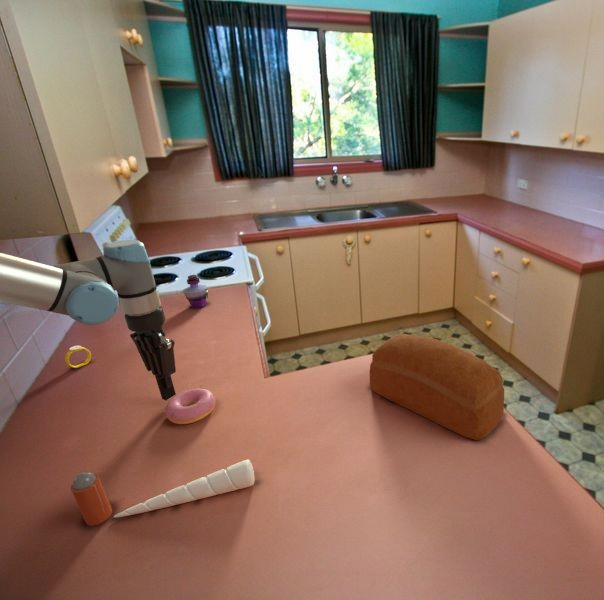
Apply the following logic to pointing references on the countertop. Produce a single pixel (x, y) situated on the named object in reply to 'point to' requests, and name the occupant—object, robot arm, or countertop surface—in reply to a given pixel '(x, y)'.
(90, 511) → the salt shaker
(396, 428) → the countertop surface
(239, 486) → the unicorn horn
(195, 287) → the potion bottle
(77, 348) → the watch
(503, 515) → the countertop surface
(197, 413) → the doughnut
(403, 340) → the bread
